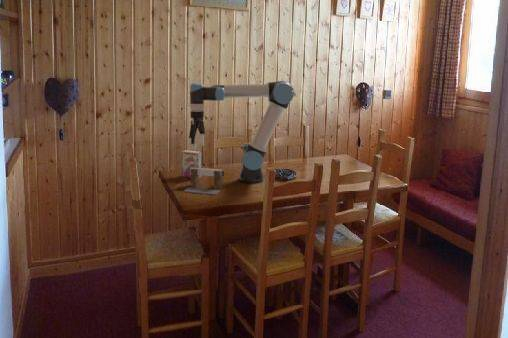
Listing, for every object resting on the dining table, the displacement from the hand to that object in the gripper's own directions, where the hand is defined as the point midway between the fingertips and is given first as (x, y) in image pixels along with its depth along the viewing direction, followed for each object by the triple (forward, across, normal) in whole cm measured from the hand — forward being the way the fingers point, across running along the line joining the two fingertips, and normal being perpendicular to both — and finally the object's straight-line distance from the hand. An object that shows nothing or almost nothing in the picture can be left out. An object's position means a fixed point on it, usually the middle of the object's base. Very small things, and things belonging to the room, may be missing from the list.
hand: (197, 147), depth 294 cm
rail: (+16, +2, +6) cm, 17 cm away
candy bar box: (+23, -14, -9) cm, 28 cm away
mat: (+23, +13, +7) cm, 27 cm away
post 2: (+23, +2, +13) cm, 26 cm away
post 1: (+22, +3, -1) cm, 23 cm away
